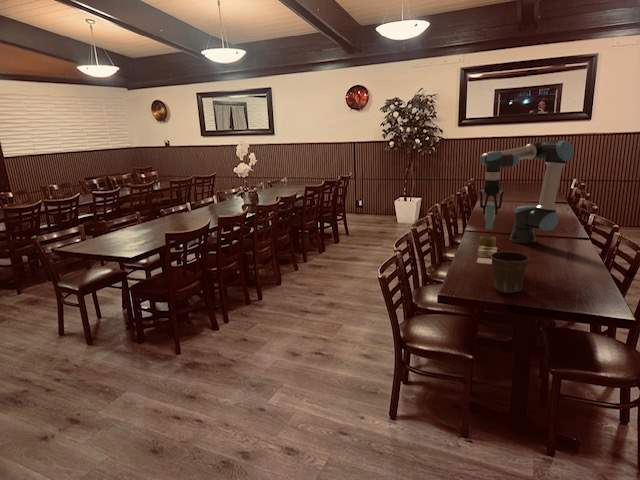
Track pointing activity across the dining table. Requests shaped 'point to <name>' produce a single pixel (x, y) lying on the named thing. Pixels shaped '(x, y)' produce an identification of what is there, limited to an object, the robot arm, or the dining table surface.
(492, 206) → the plug
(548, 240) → the dining table surface
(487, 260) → the tile
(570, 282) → the dining table surface
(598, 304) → the dining table surface
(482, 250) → the socket block
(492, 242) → the mug
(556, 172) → the robot arm
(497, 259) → the plant pot
